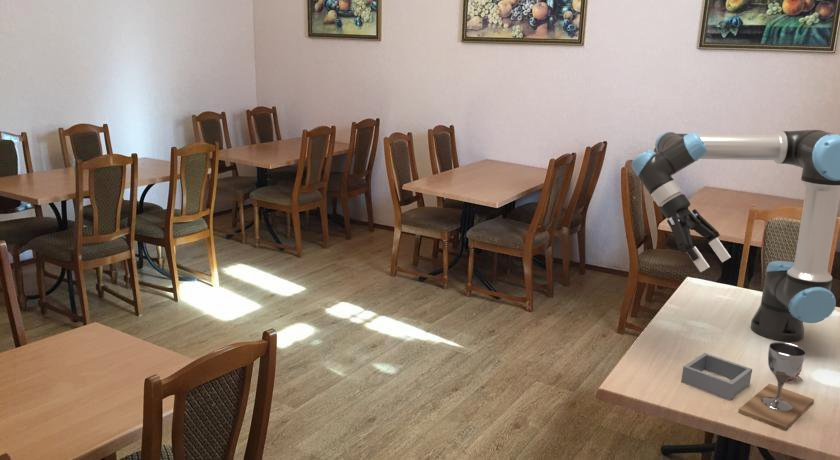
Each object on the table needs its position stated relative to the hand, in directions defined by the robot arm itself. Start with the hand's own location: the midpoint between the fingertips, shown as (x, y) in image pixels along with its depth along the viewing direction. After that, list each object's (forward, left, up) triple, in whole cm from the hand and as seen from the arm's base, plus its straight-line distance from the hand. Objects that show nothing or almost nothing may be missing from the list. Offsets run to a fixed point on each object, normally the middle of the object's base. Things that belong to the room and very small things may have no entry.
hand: (716, 264), depth 191 cm
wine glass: (+9, +24, -29) cm, 38 cm away
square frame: (+8, +8, -30) cm, 32 cm away
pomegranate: (-10, +20, -30) cm, 37 cm away
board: (+9, +24, -30) cm, 39 cm away
